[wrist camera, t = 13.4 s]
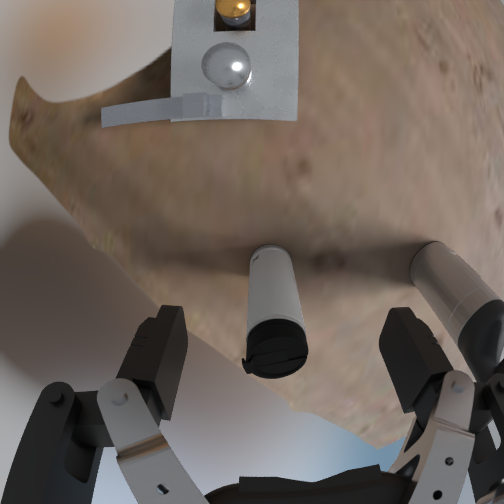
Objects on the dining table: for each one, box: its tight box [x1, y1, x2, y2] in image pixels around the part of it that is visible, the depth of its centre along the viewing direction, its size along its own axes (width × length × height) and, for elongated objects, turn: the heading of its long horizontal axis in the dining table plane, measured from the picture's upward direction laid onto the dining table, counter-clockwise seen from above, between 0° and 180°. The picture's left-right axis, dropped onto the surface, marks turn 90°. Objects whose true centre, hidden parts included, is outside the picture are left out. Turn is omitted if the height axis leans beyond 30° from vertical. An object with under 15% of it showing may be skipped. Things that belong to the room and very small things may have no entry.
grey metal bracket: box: [101, 0, 299, 128], centre depth 24 cm, size 22×16×14 cm
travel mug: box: [242, 245, 308, 379], centre depth 35 cm, size 6×7×20 cm
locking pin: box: [215, 0, 251, 31], centre depth 24 cm, size 3×3×10 cm
